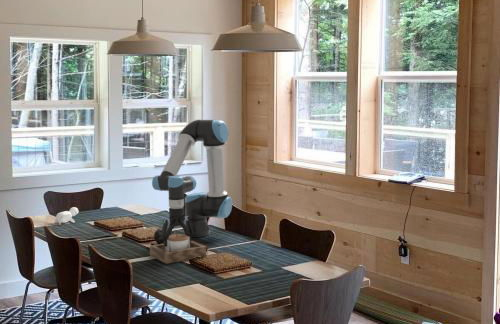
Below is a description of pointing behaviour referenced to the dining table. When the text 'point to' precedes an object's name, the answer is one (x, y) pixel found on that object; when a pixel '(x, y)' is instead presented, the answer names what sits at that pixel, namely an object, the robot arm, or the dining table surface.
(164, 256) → the wooden tray
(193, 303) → the dining table surface
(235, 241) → the dining table surface
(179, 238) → the lidded jar
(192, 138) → the robot arm
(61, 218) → the white animal figurine
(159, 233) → the pine cone
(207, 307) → the dining table surface
